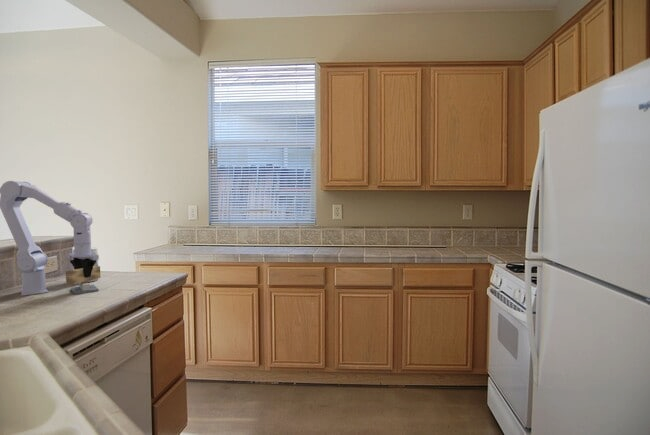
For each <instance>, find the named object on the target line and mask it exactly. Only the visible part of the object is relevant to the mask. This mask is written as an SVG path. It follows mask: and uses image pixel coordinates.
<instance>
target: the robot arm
mask: <svg viewBox="0 0 650 435" xmlns="http://www.w3.org/2000/svg"><path fill="white" fill-rule="evenodd" d="M28 198H30V199H34V200H35V201H38V202H39V203H42V204H43V205H45V206H47V207H49V208H51V209H52V210H53V214H55V215H57V216H58V217H60V218H61V219H63V220H65V221H66V222H68V223H70V225H71V227H72V229H73V247H74V248H73V249H74V253H73V252H71V253H67V258H68V259H70V260H69V262H70V264H71V265H72V267H74V269H80V268H83V272H84V277H85V278H87V277H90V276H91V272H92V269H93V266H94V264H95V263H96V260H98V261H99V260H100V258H99V256H100V255H99V254H98V255H96V254H92V253H91V247H92V236H91V235H92V234H91V233H92V232H91V225H92V224H93V218H92V216H91V215H90V214H89V213H88V212H83V210H81V209H78V208H76V207H74V206H72V203H70V202H66V201H60V202H59V201H58V200H56V199H55V198H54V197H52V196H50V195H49V194H47V193H46V192H44V191H43V190H42V189H40V188H38V187H37V186H36V185H34V184H31V183H30V182H28V181H15V180H8V181H5V182H4V183H2V185H1V186H0V210H1V212H2V215H3V217H4V219H5V222H6V224H7V227H8V228H9V231H10V233H11V235H12V237H13V240H14V242H15V244H16V247H17V249H18V250H17V252H16V254H15V256H16V260H17V262H16V266H17V267H18V269H19V270H20V271H21V281H22V282H21V284H22V285H21V287H22V289H21V290H20V292H21V296H23V297H24V296H31V295H38V294H45V293H48V292H49V290H48V289H47V287H46V286H47V285H46V270H45V269H46V267H45V266H46V265H47V264H48V261H49V258H48V255H47V254H46V253H45V252H44V251H43V250H42V248H41V247H40V246H38V244H36V243H35V241H34V240H35V239H34V238H33V236H32V233H31V231H30V229H29V226H28V224H27V222H26V219H25V217H24V215H23V213H22V211H21V208H20V207H21V205H22V204H23V202H24V201H26V200H27V199H28ZM83 257H85V258H83Z"/></svg>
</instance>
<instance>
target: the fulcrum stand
mask: <svg viewBox="0 0 650 435" xmlns="http://www.w3.org/2000/svg"><path fill="white" fill-rule="evenodd" d="M78 285H79V286H71V287H70V291H71V292H72V293H73V295H79V294H86V293H87V294H88V293H93V292H94V293H95V292H98V291H99V288H98V286H96V285H95V284H90V282H87V281H86V282H82V283H78Z"/></svg>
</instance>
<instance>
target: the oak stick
mask: <svg viewBox="0 0 650 435" xmlns="http://www.w3.org/2000/svg"><path fill="white" fill-rule="evenodd" d="M94 279H98V280H99V279H101V266H100V265H98V266H93V269H92V272H91V276H90V277H87V278H85V277H84V272H83V268H80V269H75V270H73V269H71V270H66V271H65V283H66V285H73V286H74V285H76V284H79V283H82V282H86V281H90V280H94Z"/></svg>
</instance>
